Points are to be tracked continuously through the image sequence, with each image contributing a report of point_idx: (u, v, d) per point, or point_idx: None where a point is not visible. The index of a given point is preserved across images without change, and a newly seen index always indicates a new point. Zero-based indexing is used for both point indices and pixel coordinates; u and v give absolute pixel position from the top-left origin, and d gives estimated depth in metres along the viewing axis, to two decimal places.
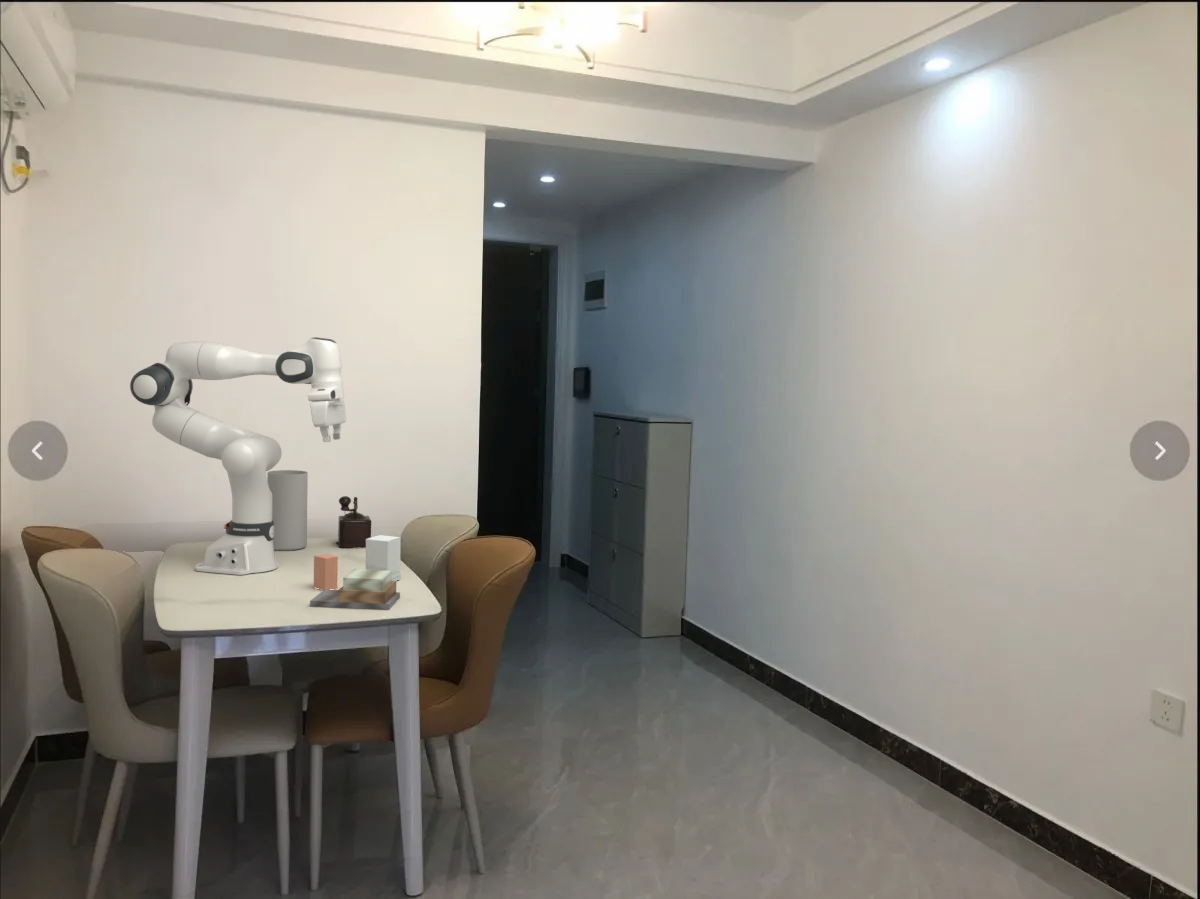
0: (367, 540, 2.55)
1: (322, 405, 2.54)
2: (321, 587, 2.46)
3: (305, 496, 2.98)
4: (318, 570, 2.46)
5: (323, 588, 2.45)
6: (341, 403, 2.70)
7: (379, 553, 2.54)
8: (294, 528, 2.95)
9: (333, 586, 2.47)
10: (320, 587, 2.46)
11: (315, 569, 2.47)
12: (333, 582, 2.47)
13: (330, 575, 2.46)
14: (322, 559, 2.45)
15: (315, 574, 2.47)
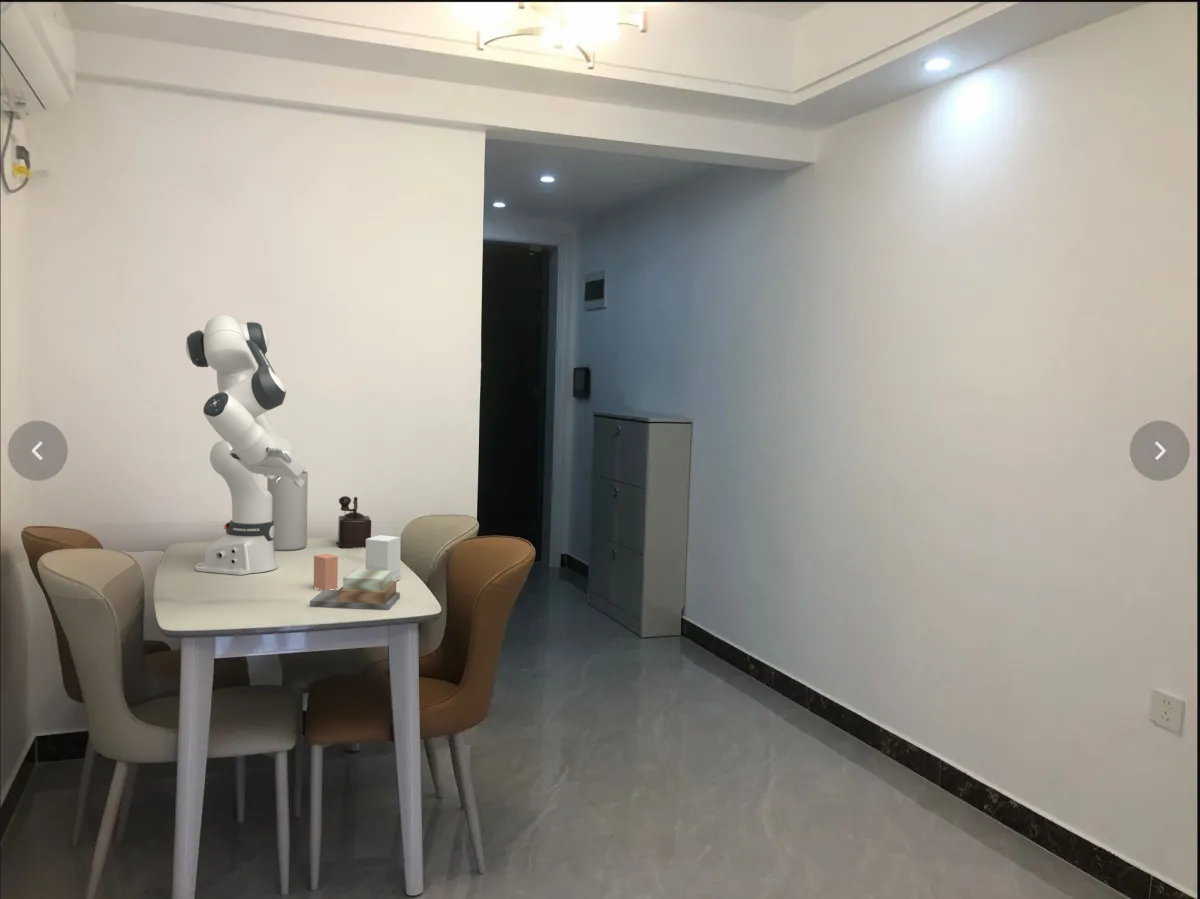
0: (367, 540, 2.55)
1: None
2: (321, 587, 2.46)
3: (305, 496, 2.98)
4: (318, 570, 2.46)
5: (323, 588, 2.45)
6: (275, 463, 2.25)
7: (379, 553, 2.54)
8: (294, 528, 2.95)
9: (333, 586, 2.47)
10: (320, 587, 2.46)
11: (315, 569, 2.47)
12: (333, 582, 2.47)
13: (330, 575, 2.46)
14: (322, 559, 2.45)
15: (315, 574, 2.47)
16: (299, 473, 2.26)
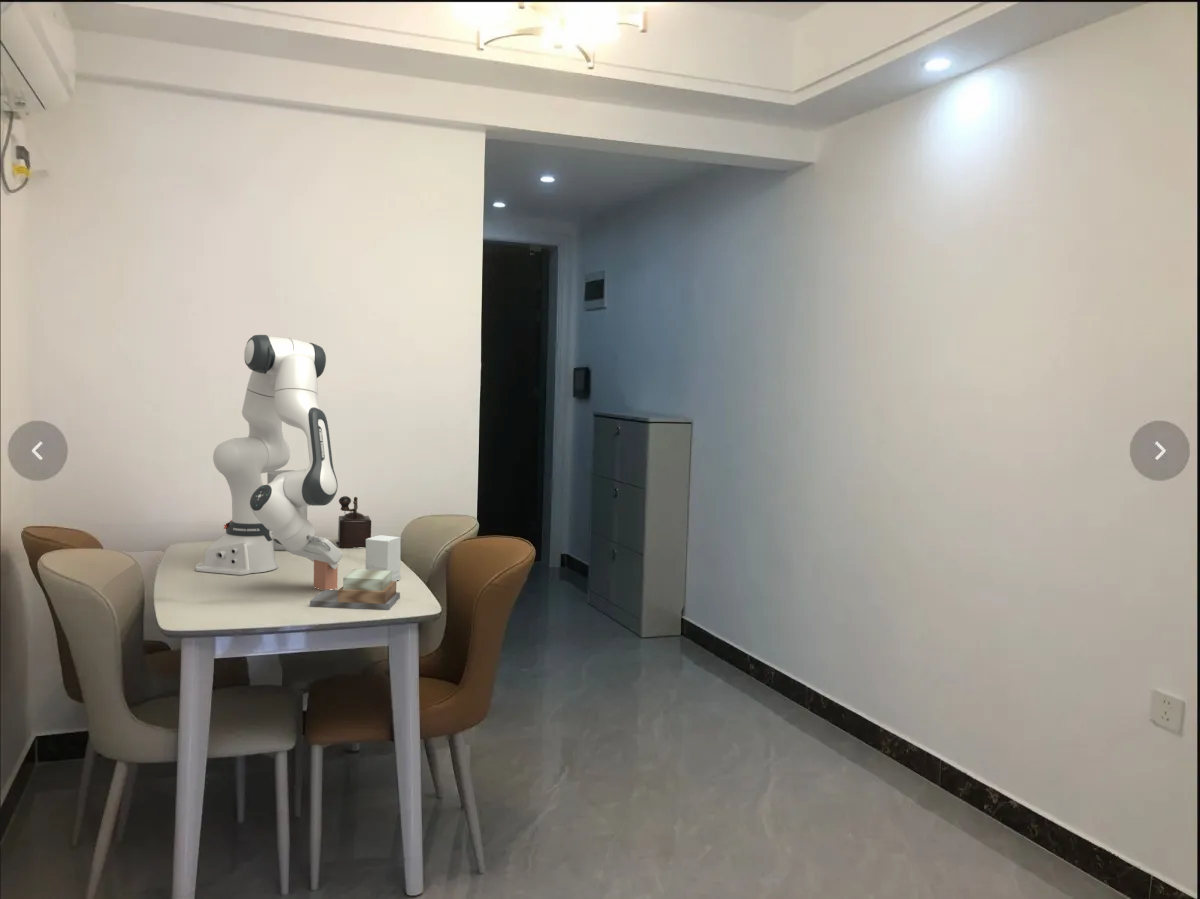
0: (367, 540, 2.55)
1: None
2: (321, 587, 2.46)
3: None
4: (318, 570, 2.46)
5: (323, 588, 2.45)
6: (315, 550, 2.37)
7: (379, 553, 2.54)
8: None
9: (333, 586, 2.47)
10: (320, 587, 2.46)
11: (315, 569, 2.47)
12: (333, 582, 2.47)
13: (330, 575, 2.46)
14: None
15: (315, 574, 2.47)
16: (337, 560, 2.38)
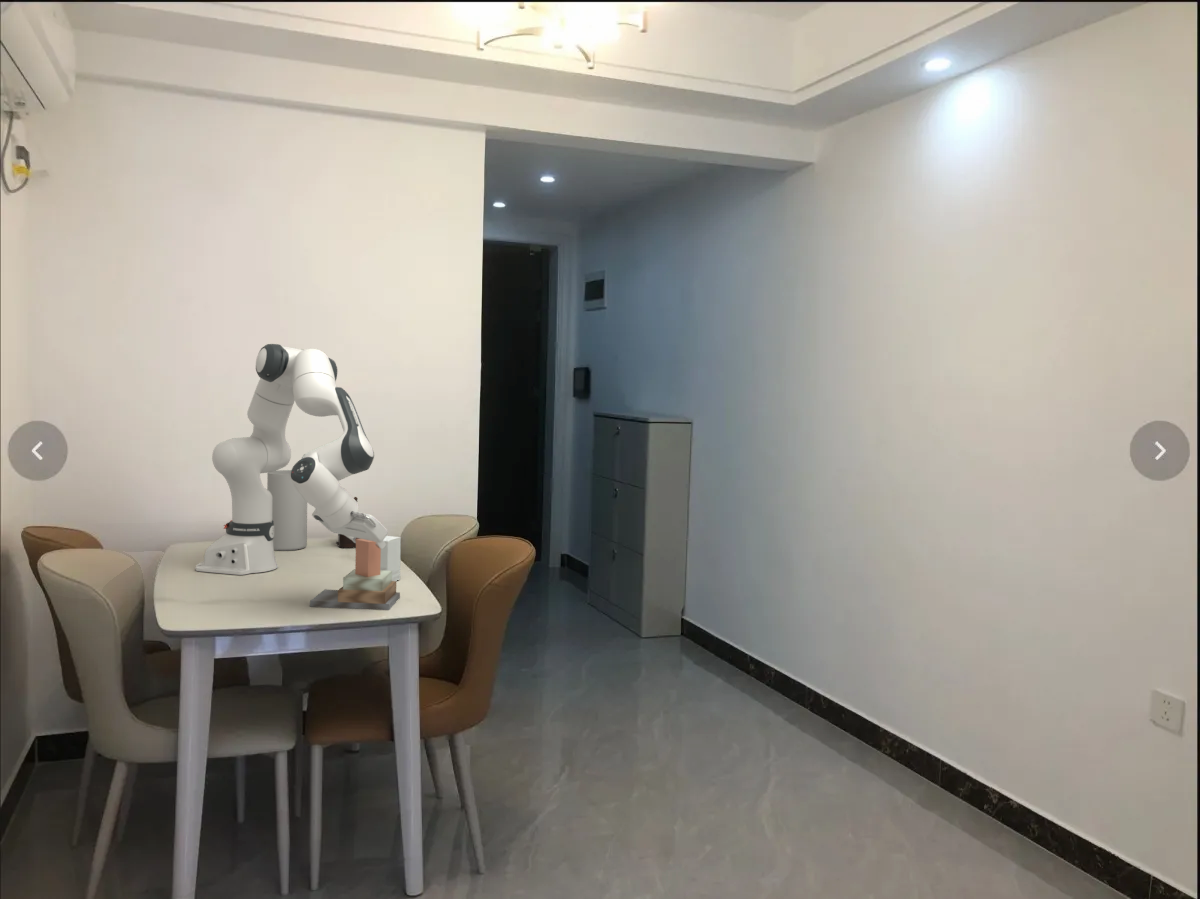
0: None
1: None
2: (364, 572, 2.32)
3: None
4: (360, 555, 2.33)
5: (366, 573, 2.31)
6: (359, 527, 2.23)
7: None
8: (294, 528, 2.95)
9: (376, 571, 2.33)
10: (362, 572, 2.32)
11: (357, 554, 2.33)
12: (376, 567, 2.33)
13: (373, 560, 2.32)
14: (365, 543, 2.31)
15: (357, 559, 2.33)
16: (383, 537, 2.24)
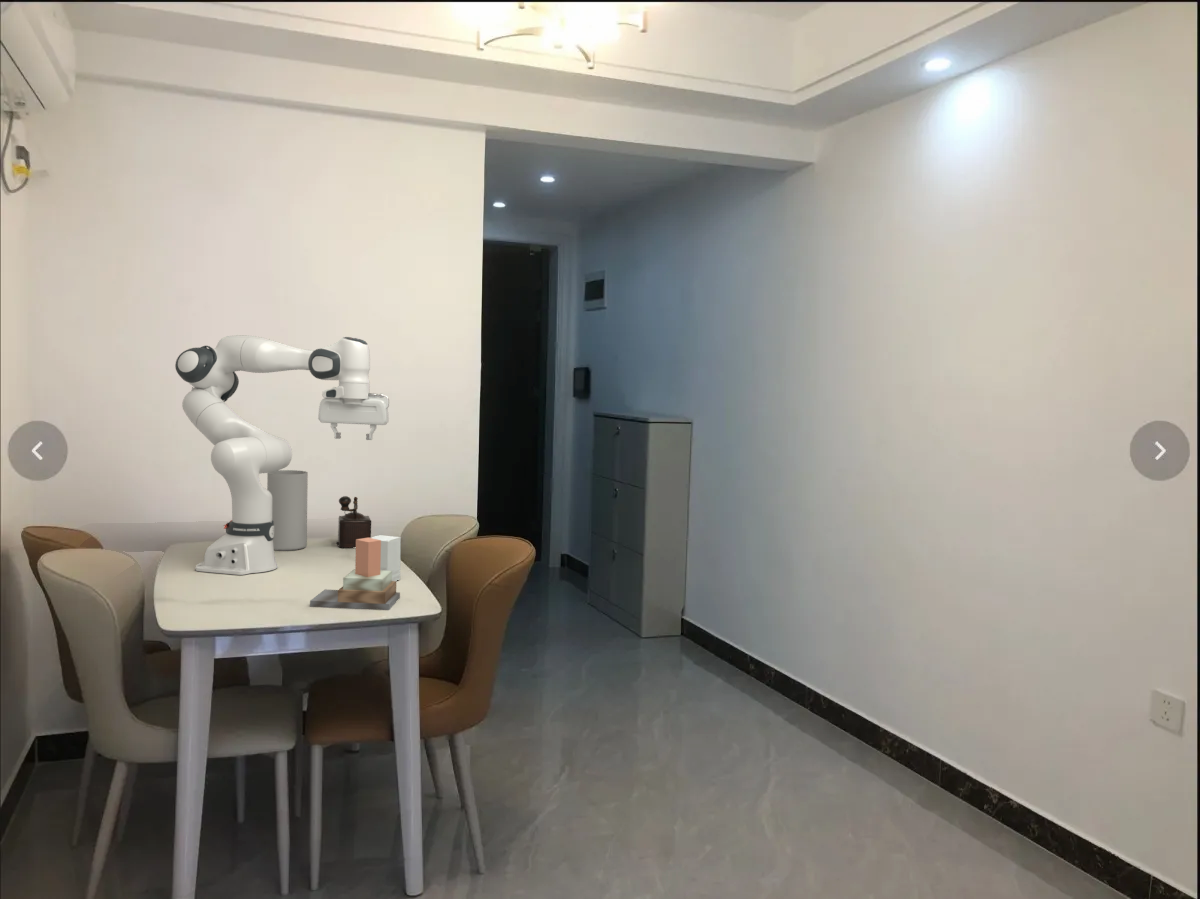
0: None
1: None
2: (364, 572, 2.32)
3: (305, 496, 2.98)
4: (360, 555, 2.33)
5: (366, 573, 2.31)
6: (373, 404, 2.67)
7: None
8: (294, 528, 2.95)
9: (376, 571, 2.33)
10: (362, 572, 2.32)
11: (357, 554, 2.33)
12: (376, 567, 2.33)
13: (373, 560, 2.32)
14: (365, 543, 2.31)
15: (357, 559, 2.33)
16: (386, 421, 2.68)
